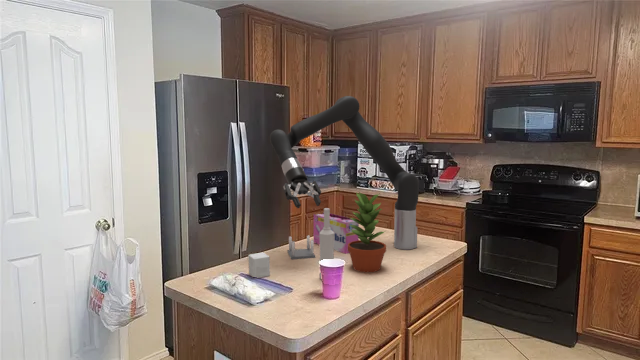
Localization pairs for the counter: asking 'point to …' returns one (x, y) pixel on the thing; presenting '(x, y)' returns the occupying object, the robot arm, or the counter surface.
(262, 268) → the product box
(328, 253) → the bottle
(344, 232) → the gum box
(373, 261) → the potted plant
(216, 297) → the counter surface
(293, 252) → the pin holder
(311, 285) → the counter surface
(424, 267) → the counter surface
